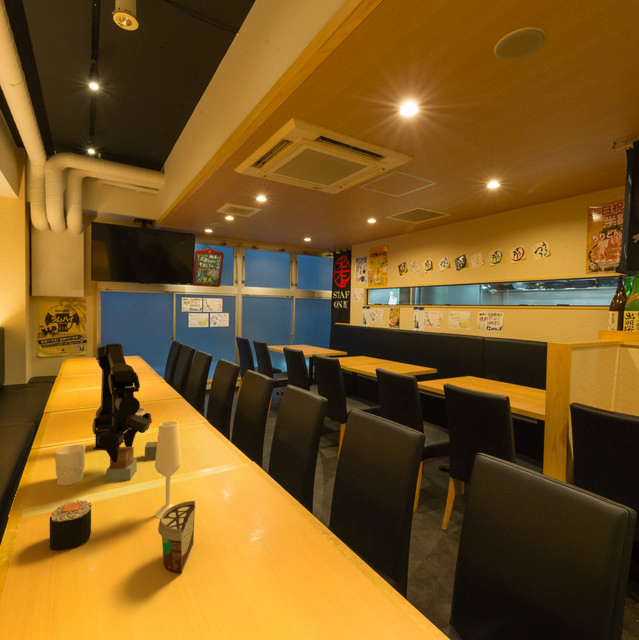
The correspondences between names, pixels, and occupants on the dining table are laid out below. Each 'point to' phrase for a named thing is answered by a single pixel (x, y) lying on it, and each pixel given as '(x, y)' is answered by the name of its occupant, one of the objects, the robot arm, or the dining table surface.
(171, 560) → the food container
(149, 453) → the brown block
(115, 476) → the base block
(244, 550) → the dining table surface
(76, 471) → the white cup
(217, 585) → the dining table surface
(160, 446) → the champagne flute
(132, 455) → the walnut block
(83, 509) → the sushi
